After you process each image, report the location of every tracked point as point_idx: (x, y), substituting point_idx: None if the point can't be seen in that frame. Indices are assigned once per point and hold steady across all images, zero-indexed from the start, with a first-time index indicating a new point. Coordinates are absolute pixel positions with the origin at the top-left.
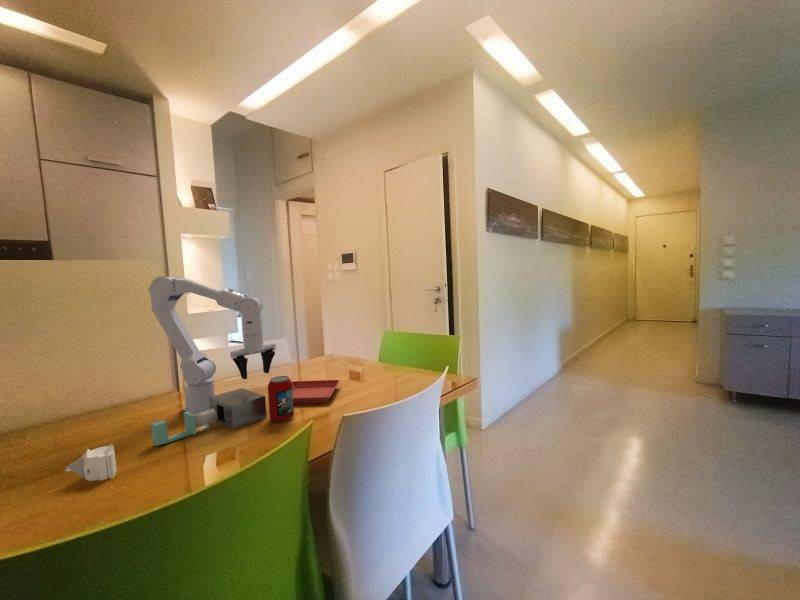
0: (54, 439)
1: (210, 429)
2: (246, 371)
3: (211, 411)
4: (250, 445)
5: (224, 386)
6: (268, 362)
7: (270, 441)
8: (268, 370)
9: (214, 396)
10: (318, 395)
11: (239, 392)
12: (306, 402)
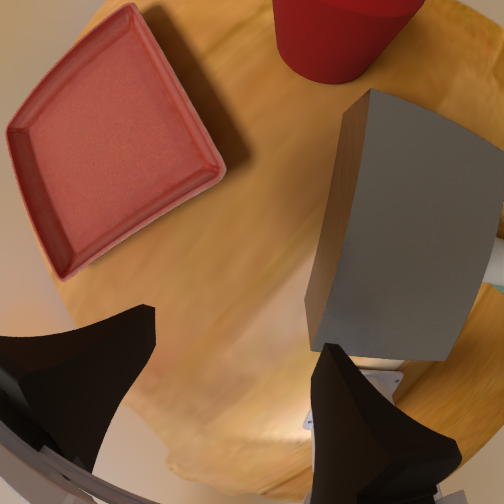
0: (478, 435)
1: None
2: (345, 374)
3: (498, 251)
4: (472, 40)
5: (192, 458)
6: (98, 340)
7: (436, 4)
8: (136, 311)
9: (436, 352)
10: (89, 105)
11: (376, 298)
12: (162, 72)
